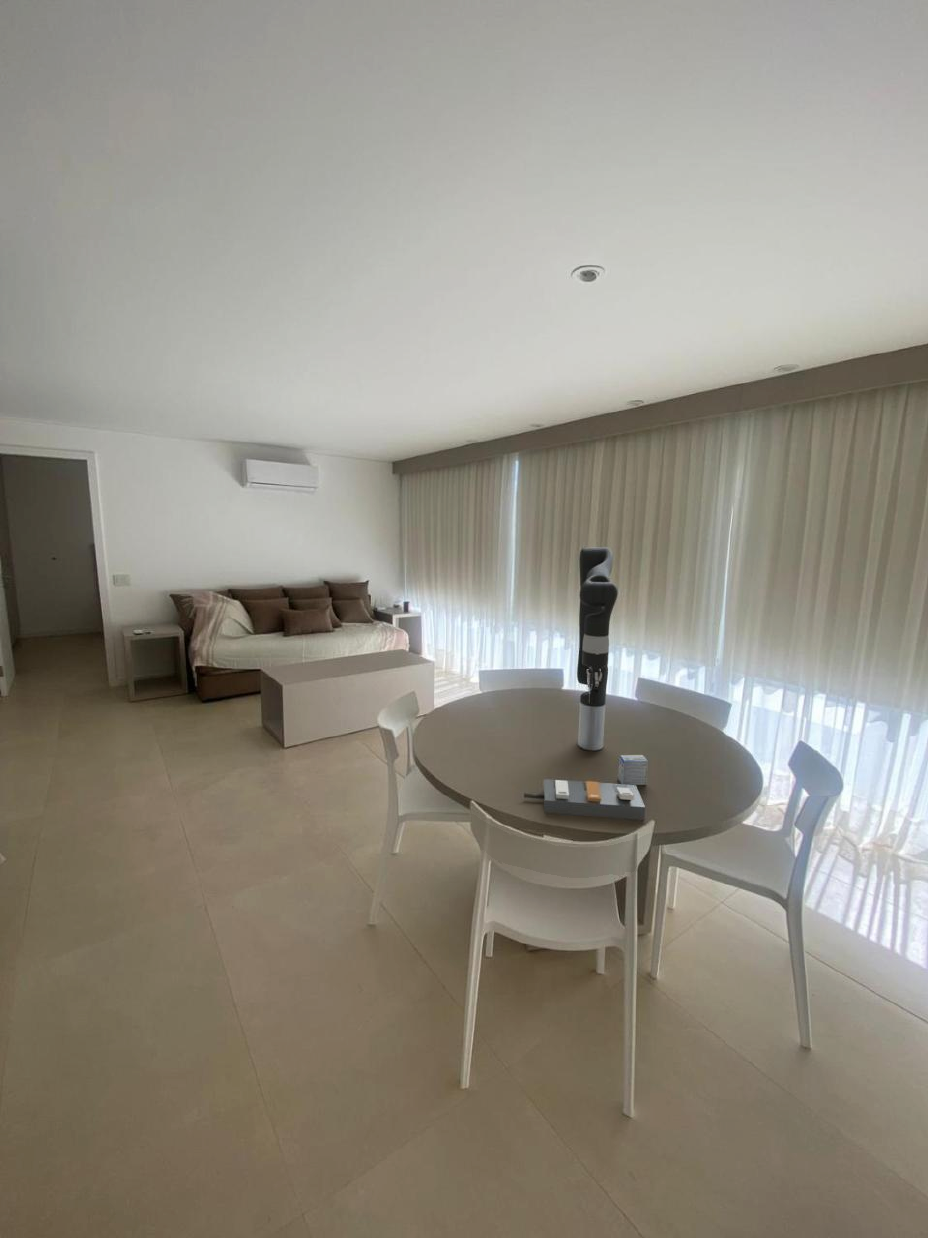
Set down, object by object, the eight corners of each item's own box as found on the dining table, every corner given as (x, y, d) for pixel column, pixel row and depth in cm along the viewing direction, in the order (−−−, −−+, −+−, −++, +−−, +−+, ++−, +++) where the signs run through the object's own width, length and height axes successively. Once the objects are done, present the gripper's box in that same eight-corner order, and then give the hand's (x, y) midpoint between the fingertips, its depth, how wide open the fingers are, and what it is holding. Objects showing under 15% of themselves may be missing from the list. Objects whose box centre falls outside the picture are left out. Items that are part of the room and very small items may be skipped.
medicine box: (641, 778, 159) (643, 754, 157) (646, 785, 154) (648, 760, 153) (617, 779, 159) (619, 754, 157) (622, 786, 154) (624, 761, 153)
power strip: (524, 789, 152) (524, 776, 151) (634, 797, 148) (635, 783, 147) (523, 811, 140) (524, 796, 140) (644, 820, 136) (645, 805, 135)
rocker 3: (616, 792, 142) (616, 787, 142) (629, 792, 142) (629, 787, 142) (620, 799, 136) (620, 793, 136) (633, 800, 136) (633, 794, 136)
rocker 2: (585, 784, 143) (586, 781, 143) (597, 785, 143) (598, 781, 142) (587, 801, 138) (588, 797, 138) (600, 802, 138) (600, 798, 137)
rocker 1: (555, 783, 145) (555, 779, 144) (567, 784, 144) (567, 780, 144) (556, 798, 139) (556, 794, 139) (568, 799, 139) (569, 795, 138)
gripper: (580, 643, 149) (577, 696, 152) (585, 654, 136) (582, 712, 139) (605, 644, 148) (602, 697, 151) (612, 655, 135) (609, 713, 138)
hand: (592, 704), depth 145 cm, fingers closed
